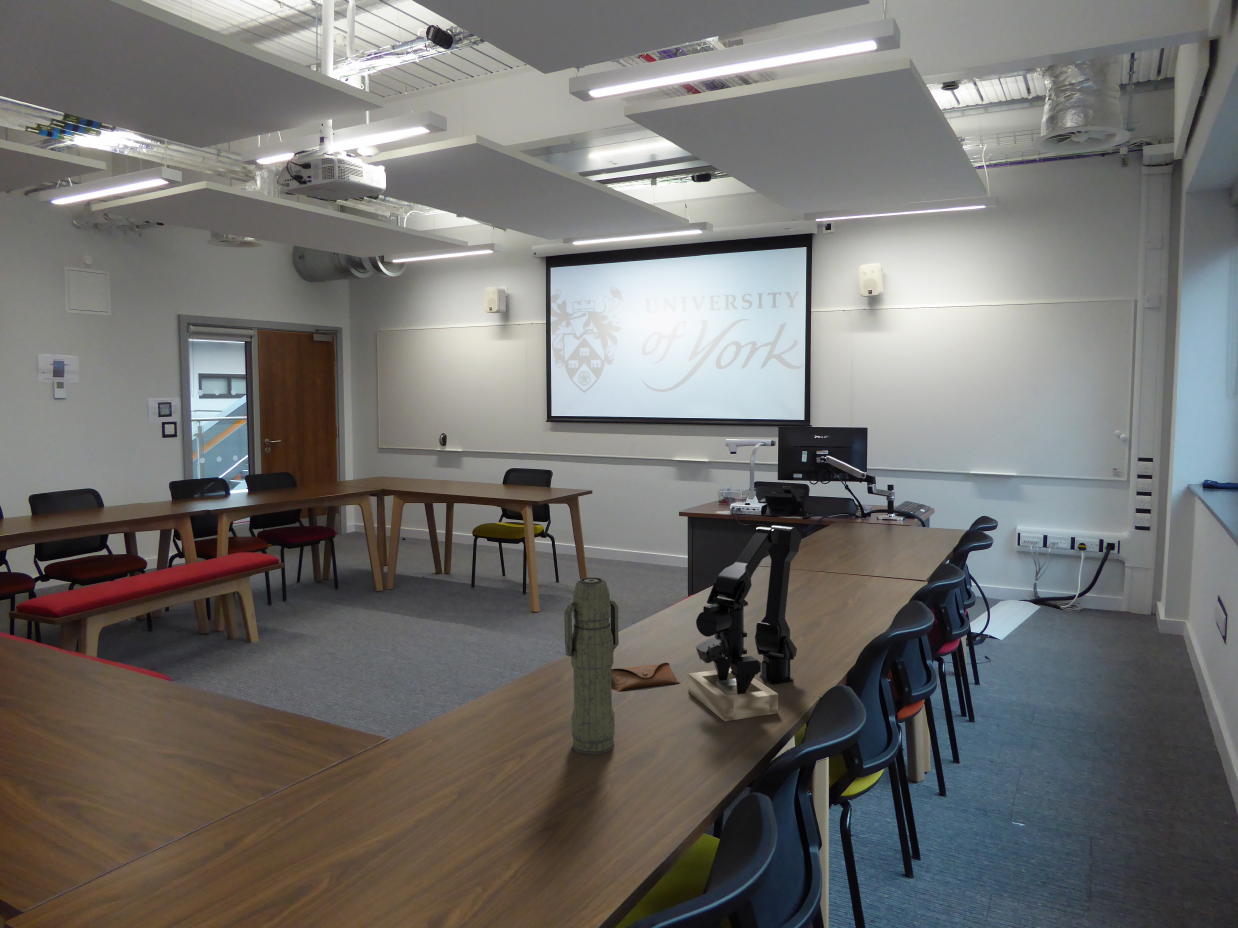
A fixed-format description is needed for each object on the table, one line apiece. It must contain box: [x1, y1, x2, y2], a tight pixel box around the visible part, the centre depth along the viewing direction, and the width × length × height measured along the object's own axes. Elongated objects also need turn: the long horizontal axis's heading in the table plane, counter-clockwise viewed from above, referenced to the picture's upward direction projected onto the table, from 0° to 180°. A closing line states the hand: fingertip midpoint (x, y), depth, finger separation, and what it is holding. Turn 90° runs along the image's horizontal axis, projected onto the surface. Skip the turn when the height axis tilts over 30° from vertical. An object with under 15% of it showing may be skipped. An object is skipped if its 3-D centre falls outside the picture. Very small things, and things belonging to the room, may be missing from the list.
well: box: [687, 667, 779, 722], centre depth 189 cm, size 14×20×4 cm
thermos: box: [563, 577, 620, 756], centre depth 165 cm, size 9×12×35 cm
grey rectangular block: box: [716, 678, 747, 696], centre depth 189 cm, size 6×4×4 cm, turn 109°
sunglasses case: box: [611, 662, 681, 693], centre depth 204 cm, size 18×7×7 cm
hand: (731, 691), depth 189 cm, fingers open, 9 cm apart
